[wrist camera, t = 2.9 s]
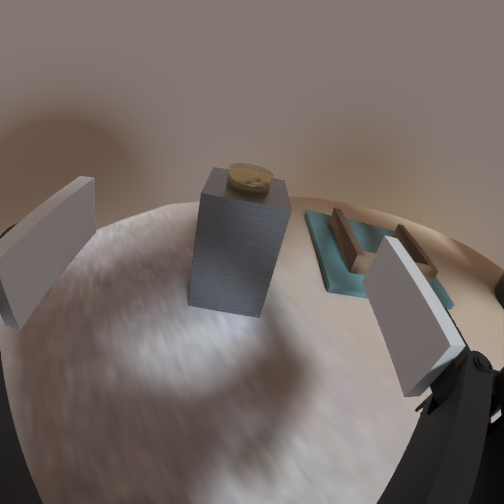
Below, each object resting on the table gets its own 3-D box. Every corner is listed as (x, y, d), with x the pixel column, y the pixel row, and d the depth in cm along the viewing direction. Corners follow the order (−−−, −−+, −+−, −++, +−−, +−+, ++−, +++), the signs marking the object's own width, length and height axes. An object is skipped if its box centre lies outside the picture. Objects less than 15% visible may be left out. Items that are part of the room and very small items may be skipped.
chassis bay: (402, 237, 47) (410, 221, 45) (451, 309, 31) (464, 288, 30) (304, 214, 45) (310, 195, 43) (327, 291, 30) (338, 265, 28)
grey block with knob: (259, 275, 30) (287, 167, 24) (259, 317, 25) (296, 193, 19) (199, 264, 29) (215, 153, 24) (188, 305, 24) (203, 175, 18)
